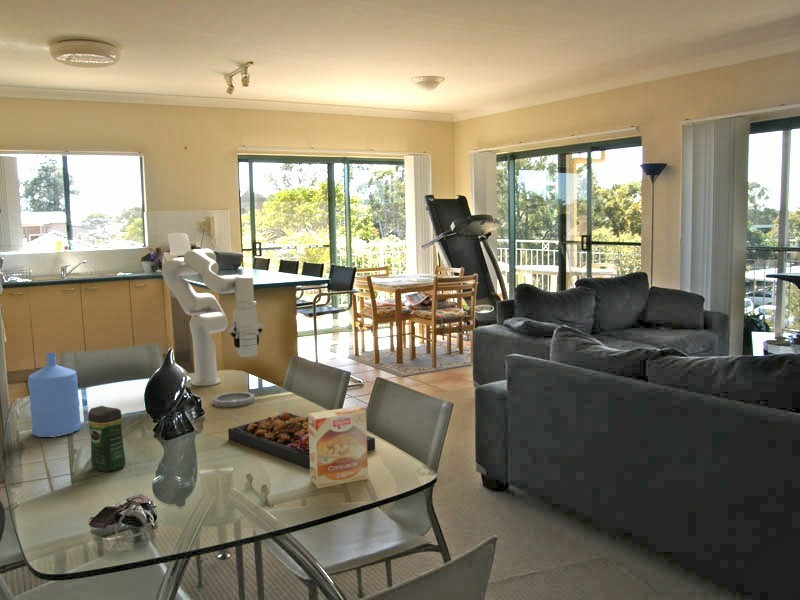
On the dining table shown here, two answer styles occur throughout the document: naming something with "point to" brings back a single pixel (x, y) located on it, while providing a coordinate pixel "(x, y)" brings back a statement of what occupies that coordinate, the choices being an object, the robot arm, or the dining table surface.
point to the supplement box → (247, 342)
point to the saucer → (233, 399)
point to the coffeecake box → (338, 446)
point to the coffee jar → (106, 438)
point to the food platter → (280, 437)
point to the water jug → (54, 400)
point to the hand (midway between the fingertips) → (246, 345)
